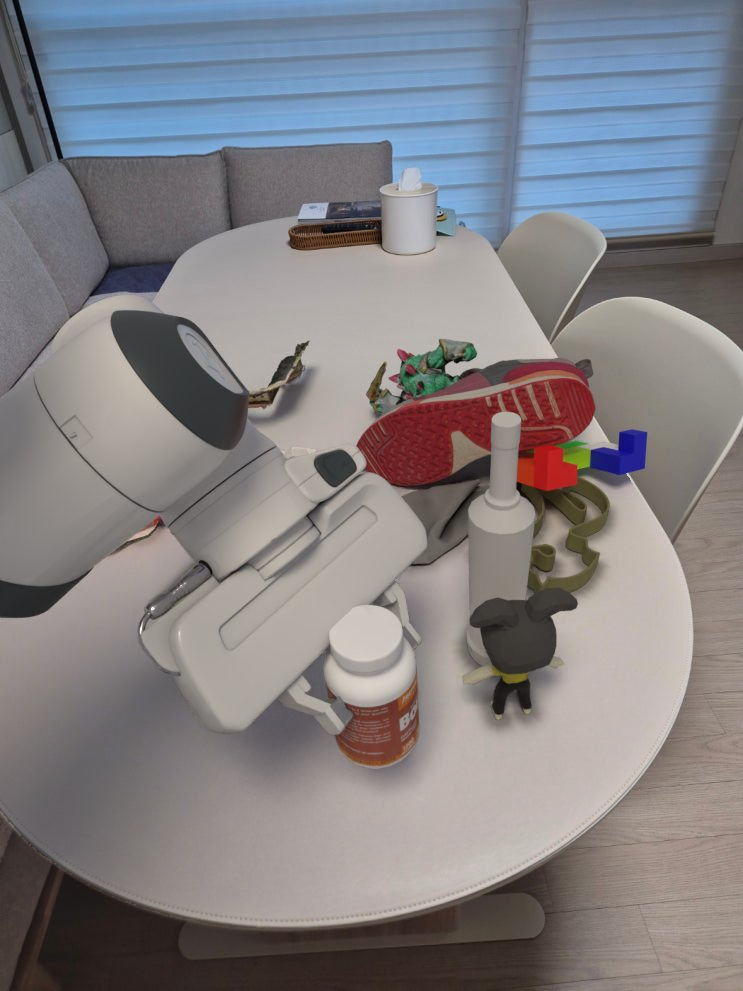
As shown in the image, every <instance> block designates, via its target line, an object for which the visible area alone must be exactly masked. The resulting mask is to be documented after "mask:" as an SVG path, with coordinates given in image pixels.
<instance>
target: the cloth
mask: <svg viewBox="0 0 743 991" xmlns="http://www.w3.org/2000/svg"><path fill="white" fill-rule="evenodd" d="M480 484H481V479H467V480H463V481H462V480H461V481H459V482H454V483H450V484H444V485H443V484H441V485H435V486H432V487H429V488H427V489H419V490H413V491H410V492H408V493H405V494H403V495H400V496H401V497H402V498H403V499H404V500H405V502H406V503H407V504H408V505H409V506H410V508H411V509H412V510H413V511H414V513H415V514H416V515H417V517H418V518H419V519H420V521H421V522H422V524H423V525H424V527H425V529H426V534H427V542H428V546H427V549H426V550H425V551H424V552H423V553H422V554H421V555H420V556H419V557H418V558H417V559H416V560H415V561H414V562H413V563H412V564H411V565H419V564H431V563H432V562H434V561H435V560H437V559H438V558H439V557H441V556H443V555H444V554H445V553H447V552H448V551H450V550H451V549H453V548H454V547H456V546H457V545H459V544H460V543H461V541H463V539H465V538H466V537H467V536H468V509H469V507H470V505H471V502H472V501H474V500H475V499H476V498H478V497H479V496H480V495H483V494H485V493H486V490H487V489H489V488H490V484H487V485H480ZM518 487H519V484H518V483H516V489H517V488H518Z"/></svg>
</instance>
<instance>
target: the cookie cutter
mask: <svg viewBox="0 0 743 991" xmlns="http://www.w3.org/2000/svg"><path fill="white" fill-rule="evenodd" d="M562 488H563V489H562V491H561V490H560V489H559V488H558V489H554V490H549V491H545V490H542V489H539V488H536V487H532V486H529V485H526V484H523V483H521V486H520V491H521V492H522V493H523V494H524V495H525V496H526V497H527V498H529V500H530V501H531V503H532V504H534V505H533V506H535V509H536V510H537V513H538V517H537V518H536V519H535V524H534V532H533V538H534V537H536V536H537V534H538V533H539V532H540V530H541V529H542V524H543V519H544V514H545V507H546V506H545V500H544V497H545V498H546V499H547V500H548V501H550V502H551V503H552V504H553V505H554V506H555V507H556V508H557V509H558V510H560V511H561V512H562V514H563V515H564V516H565V517H567V518H568V519H569V520H570V521H571V522H572V523H573V524H575V525H573V526H571V527H570V528H569V529H568V532H567V537H566V541H565V546H566V548H567V549H568V550H570V551H573V552H576V553H580V554H581V560H582V562H583V563H584V564H585V565H586V566H587V567H586V568H585V569H584V570H582V571H581V572H579V573H577V574H574V575H570V576H562V577H561V576H560V577H558V576H557V577H556V576H546V578H545V579H544V581H543V582H542V581H541V578H540V574H539V573H538V572H535V571H534V570H532V569H533V566H534V565H535V567H537V568H538V569H539V570H541V571H545V572H549V571H551V570H553V569H554V564H555V560H556V555H557V549H556V548H555V547H554V546H553V545H551V544H548V543H543V544H536V545H535V544H534V545H532V549H531V558H530V566H529V574H528V583H527V587H529V588H531V589H532V590H533V592H534V594H536V593H538V592H540V591H542V590H544V589H546V588H558V587H560V588H562V589H563V590H565V591H567V592H569V593H570V592H574V591H576V590H579V589H580V588H582V587H583V586H585V585H586V584H587V583H588V582H589V580H591V579H592V577H593V576H594V573H595V572H596V569H597V566H598V563H599V560H600V557H601V556H600V555H601V552H599V551H596V550H593V549H592V548H591V547H590V546H589V539H588V538H587V537H589V536H593V535H594V534H596V533H597V532H599V531H601V530H602V529H603V528H604V527H605V526H606V523H607V519H608V515H609V512H610V511H609V510H610V508H611V502H610V500H609V498H608V496H607V494H606V493H605V492H604V490H602V489H601V488H600V487H598V486H597V485H595V484H594V483H593V482H591V481H589V480H587V479H586V478H583V477H581V476H578V475H577V484H576V485H571V486H567V487H562ZM570 491H573V492H575V493H577V494H580V495H582V496H583V497H585V498H587V499H589V500H590V501H592V502H593V504H595V505H596V506H597V507H598V508H599V510H600V511H601V513H602V514H600V515H599V516H597V517H594V518H593V519H590V520H588V521H586V520H585V519H586V515H587V511H588V504H587V503H586V502H585V501H584V500H583V499H582V498H580V497H579V496H577V495H576V494H573V493H572V492H570Z"/></svg>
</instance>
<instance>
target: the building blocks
mask: <svg viewBox="0 0 743 991" xmlns="http://www.w3.org/2000/svg"><path fill="white" fill-rule="evenodd" d="M647 444H648V432H647V431H643V430H638V429H633V428H632V429H627V430H622V431H619V432H618V444H617V443H612V442H608V441H603V440H602V441H597V442H592V443H588V442H583V441H579V440H574V441H568V442H566V443H563V444H560V445H556V446H552V445H547V446H541V447H536V448H534V449H531V450H523V451H518V465H517V481H516V483H519V484H522V483H523V484H526V485H529V486H532V487H536V488H539V489H542V490H545V491H549V490H554V489H558V490H559V489H562V488H564V487H567V486H571V485H576V484H577V476H578V470H582V469H585V468H589V469H593V470H598V471H601V472H606V473H609V474H612V475H617V476H622V475H626V474H630V473H633V472H637V471H641V470H645V469H646V458H647V457H646V456H647Z"/></svg>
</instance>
